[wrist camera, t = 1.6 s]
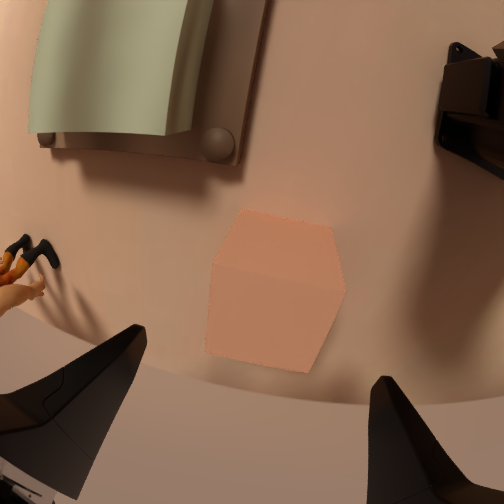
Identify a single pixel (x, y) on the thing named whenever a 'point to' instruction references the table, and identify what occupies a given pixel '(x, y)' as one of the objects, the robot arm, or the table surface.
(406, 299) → the table surface
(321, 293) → the terracotta brick
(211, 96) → the tower base
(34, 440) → the robot arm
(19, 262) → the action figure
